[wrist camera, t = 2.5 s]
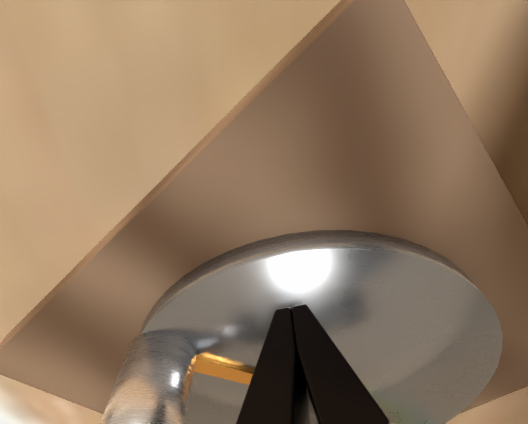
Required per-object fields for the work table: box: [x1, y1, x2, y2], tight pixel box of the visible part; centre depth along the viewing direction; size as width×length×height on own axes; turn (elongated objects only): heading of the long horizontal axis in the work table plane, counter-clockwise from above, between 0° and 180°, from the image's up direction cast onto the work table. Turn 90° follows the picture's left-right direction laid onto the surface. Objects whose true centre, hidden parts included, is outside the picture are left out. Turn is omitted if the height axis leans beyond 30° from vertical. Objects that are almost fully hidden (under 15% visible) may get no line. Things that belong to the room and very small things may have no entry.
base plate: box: [0, 0, 528, 414], centre depth 15 cm, size 20×20×2 cm
